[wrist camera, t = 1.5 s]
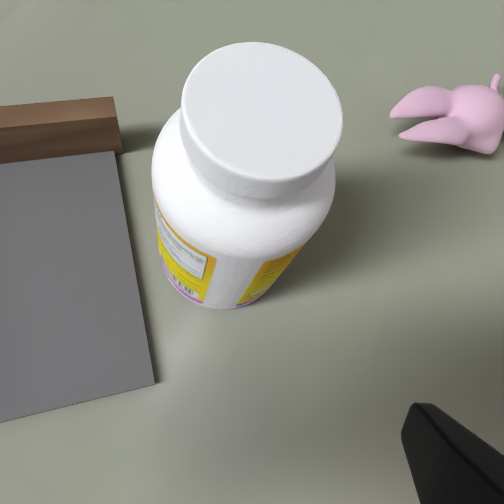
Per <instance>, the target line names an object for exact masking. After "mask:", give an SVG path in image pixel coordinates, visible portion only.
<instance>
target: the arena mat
mask: <svg viewBox="0 0 504 504" xmlns="http://www.w3.org/2000/svg"><path fill="white" fill-rule="evenodd" d="M151 385H155V380H154V375H153V369H152V363H151V357H150V352H149V346H148V340H147V335H146V329H145V323H144V318H143V312H142V306H141V301H140V295H139V289H138V284H137V278H136V272H135V266H134V261H133V255H132V249H131V244H130V238H129V232H128V227H127V221H126V215H125V210H124V204H123V198H122V192H121V187H120V181H119V175H118V170H117V164H116V158H115V153H114V151H108V152H100V153H91V154H83V155H74V156H66V157H57V158H48V159H40V160H31V161H23V162H14V163H6V164H0V423H1V422H5V421H9V420H13V419H17V418H21V417H25V416H29V415H33V414H37V413H41V412H45V411H49V410H53V409H57V408H61V407H66V406H70V405H74V404H78V403H82V402H86V401H90V400H94V399H98V398H102V397H106V396H110V395H114V394H118V393H122V392H126V391H130V390H134V389H139V388H143V387H147V386H151Z"/></svg>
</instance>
